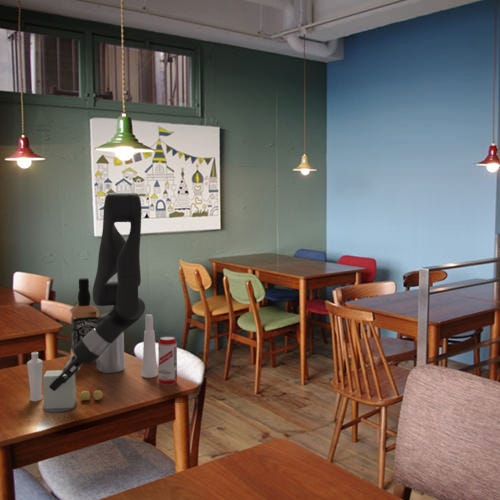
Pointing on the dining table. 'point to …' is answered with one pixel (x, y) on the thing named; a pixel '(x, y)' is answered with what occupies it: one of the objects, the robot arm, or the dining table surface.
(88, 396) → the ball
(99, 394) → the ball
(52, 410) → the coaster
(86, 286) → the whiskey bottle
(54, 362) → the dining table surface
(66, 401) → the pale grey rectangular box
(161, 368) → the beer can
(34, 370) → the perfume bottle
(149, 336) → the cosmetic bottle
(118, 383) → the dining table surface
